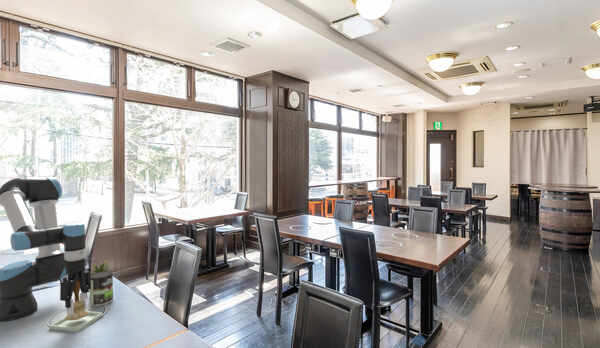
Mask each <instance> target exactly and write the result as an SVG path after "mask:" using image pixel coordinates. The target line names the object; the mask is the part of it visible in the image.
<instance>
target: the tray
mask: <svg viewBox="0 0 600 348" xmlns="http://www.w3.org/2000/svg"><path fill="white" fill-rule="evenodd" d="M87 311H88V310H87ZM65 317H66V316H65ZM65 317H64V316H63V318H60V319H59V320H57V321H55V322H53V323H52V324H51V323H50V324H49V325H48V330H49V331H57V332H69V333H75V334H76V333H79V332H81V331H82V330H83V329H85V328H87V327H88V326H90V325H91V324H93V323H95V322H96V321H98V320H99V319H101V318H103V317H104V312H102V311H101V312H99V311H91V310H89V311H88V315H87V316H85V317H83V318H81V319H78V320H71V321H70V320H66V319H65Z"/></svg>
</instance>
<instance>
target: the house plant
mask: <svg viewBox="0 0 600 348" xmlns="http://www.w3.org/2000/svg"><path fill="white" fill-rule="evenodd" d="M89 264H90V265H91V266H92V267H93V268H91V271H90V275H91V274H93V273H97V272H102V271H108V269H109V268H110V267H111V266H110V265H109V264H110V263H108V262H106V260H104V261H103V262H100V264H99V267H97V266H98V265H95V264H93V263H89ZM110 271H111V272H113V270H110Z"/></svg>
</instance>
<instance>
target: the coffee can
mask: <svg viewBox="0 0 600 348" xmlns="http://www.w3.org/2000/svg"><path fill="white" fill-rule="evenodd" d="M111 271H112V270H106V271H102V272H97V273H95V272H94V273H93V274H91V275H90V278H91V289H89V292H88V293H89V306H91V307H100V306H105V305H107V304H110V303H112V302H113V301H114V284H113V283H114V282H113V281H114V278H113V277H114V276H113V274H114V271H112V272H111Z"/></svg>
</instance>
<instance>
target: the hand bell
mask: <svg viewBox="0 0 600 348" xmlns="http://www.w3.org/2000/svg"><path fill="white" fill-rule="evenodd" d="M80 292H81V290H80V284H79V282H78V280H76V283H75V285H74V289H73V294H74V298H73V306H74V314H73V315H67V314H66V316H65V319H66V320H70V321H71V320H78V319H81V318H83V317H85V316H87V315H88V310H87V309H86V308H84V306H83V302H80V294H79V293H80Z"/></svg>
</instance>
